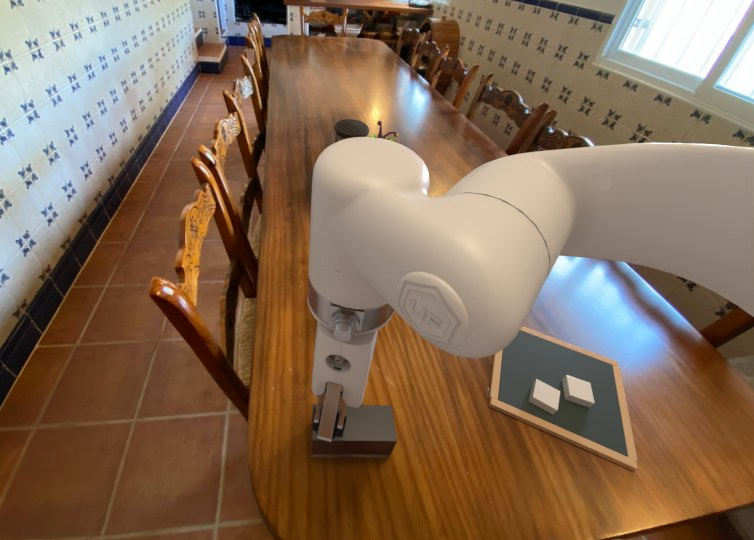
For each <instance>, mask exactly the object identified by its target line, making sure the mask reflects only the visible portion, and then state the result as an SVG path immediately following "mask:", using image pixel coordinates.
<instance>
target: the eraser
mask: <svg viewBox="0 0 754 540" xmlns="http://www.w3.org/2000/svg"><path fill="white" fill-rule="evenodd" d="M323 406H324V403H323ZM316 407H317V403H313V404H312V412H311V422H310V423H311V427H310V458H337V459H338V458H340V459H341V458H349V459H350V458H351V459H352V458H353V459H354V458H356V459H357V458H358V459H359V458H360V459H362V458H363V459H390V457H391V456H392V453H393V451H394V449H395V446H396V444H397V443H398V438H397V431H396V424H395V418H394V410H393V405H392V404H390V405H389V404H388V405H385V404H384V405H383V404H374V405H373V404H361V405H360V406H359V407H358V408H354V407H349V406H346V411H345V416H347V419H346V424H345V428H344V433H343V437H336V436H335V438H334V439H332V440H331V442H328V441H324V440H320V439H317V435H316V431H314V430H312V425H313V413H314V409H316ZM340 408H341V404H338V408H337V411H338V412H339V413H340ZM322 409H323V407H322Z"/></svg>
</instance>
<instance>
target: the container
mask: <svg viewBox="0 0 754 540" xmlns="http://www.w3.org/2000/svg"><path fill="white" fill-rule="evenodd" d="M333 129H334V131H335V138H334V139H335V140H334V143H336V142H338V141H340V140H344V139H348V138H354V137H366V136H369V133H370V127H369V126H368V124H366V123H365V122H364V121H362V120H358V119H355V118H354V119H353V118H345V119H340V120H339V121H337V122H335V123H334V128H333Z"/></svg>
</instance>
